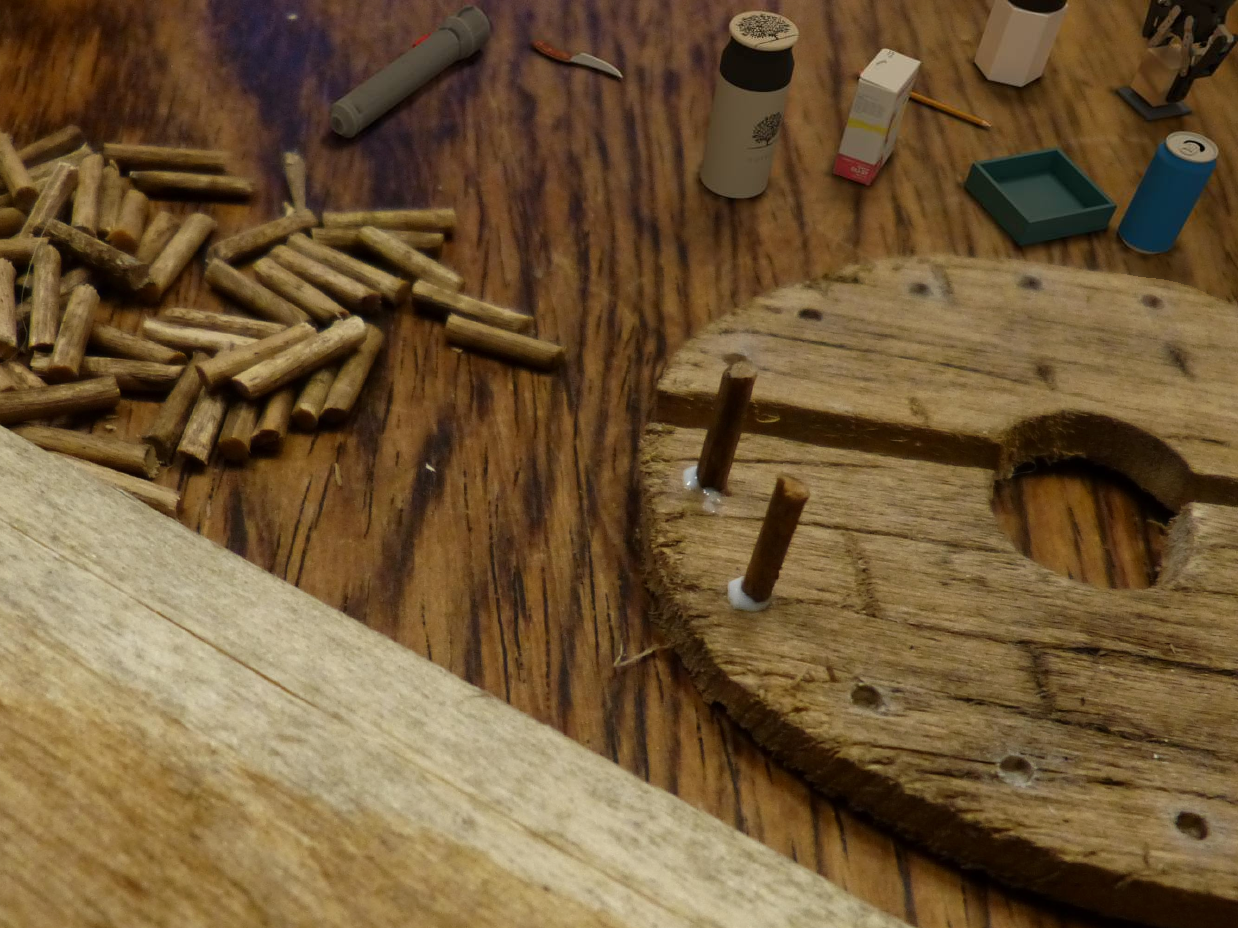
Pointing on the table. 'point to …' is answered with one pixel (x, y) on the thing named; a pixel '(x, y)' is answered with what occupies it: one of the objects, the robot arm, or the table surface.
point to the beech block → (1158, 73)
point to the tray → (1039, 196)
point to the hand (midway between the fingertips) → (1159, 89)
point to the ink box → (875, 115)
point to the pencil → (947, 108)
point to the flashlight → (411, 71)
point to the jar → (1019, 39)
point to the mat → (1147, 108)
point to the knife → (575, 58)
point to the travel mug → (749, 104)
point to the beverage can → (1168, 192)
